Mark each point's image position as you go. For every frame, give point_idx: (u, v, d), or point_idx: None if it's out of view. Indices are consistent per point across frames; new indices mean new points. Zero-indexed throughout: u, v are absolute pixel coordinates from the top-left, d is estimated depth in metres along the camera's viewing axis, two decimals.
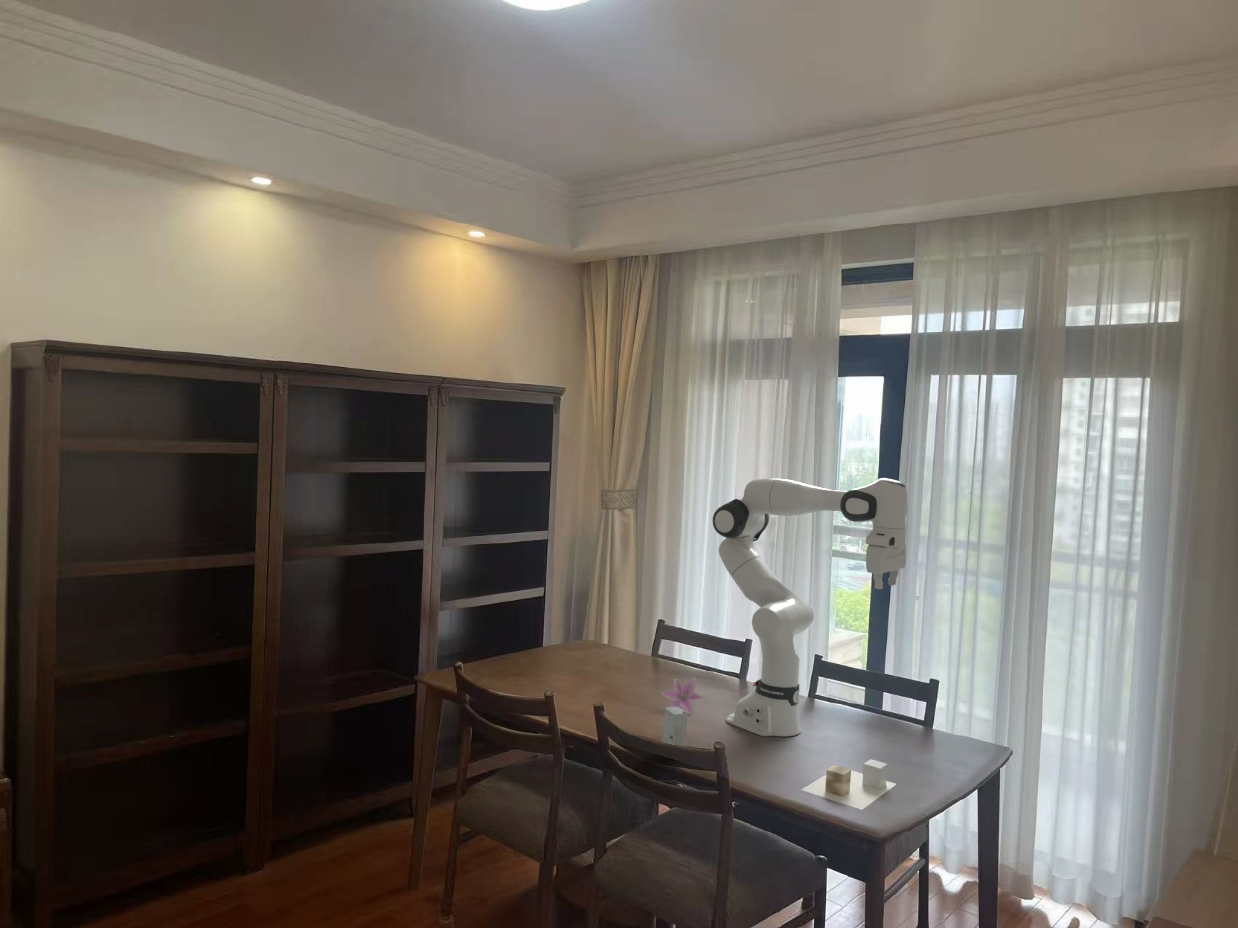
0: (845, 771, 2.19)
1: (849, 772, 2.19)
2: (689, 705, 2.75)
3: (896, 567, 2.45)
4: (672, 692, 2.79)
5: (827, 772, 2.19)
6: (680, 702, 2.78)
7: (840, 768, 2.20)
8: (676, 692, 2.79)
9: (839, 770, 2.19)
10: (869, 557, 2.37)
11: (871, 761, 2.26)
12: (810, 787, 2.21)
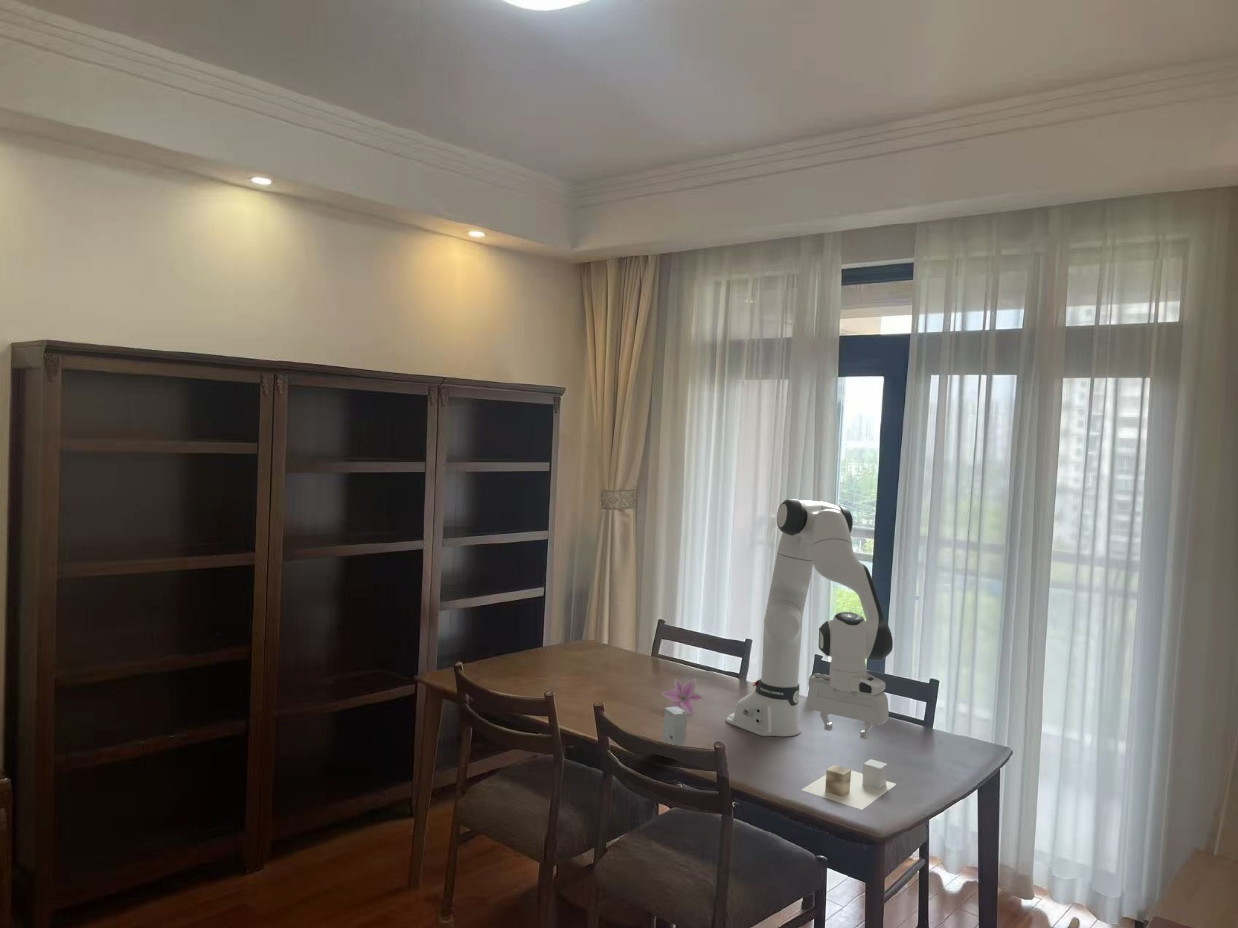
0: (845, 771, 2.19)
1: (849, 772, 2.19)
2: (690, 706, 2.75)
3: None
4: (672, 693, 2.78)
5: (827, 772, 2.19)
6: (681, 702, 2.77)
7: (840, 768, 2.20)
8: (676, 692, 2.79)
9: (839, 770, 2.19)
10: (883, 708, 2.12)
11: (871, 761, 2.26)
12: (810, 787, 2.21)
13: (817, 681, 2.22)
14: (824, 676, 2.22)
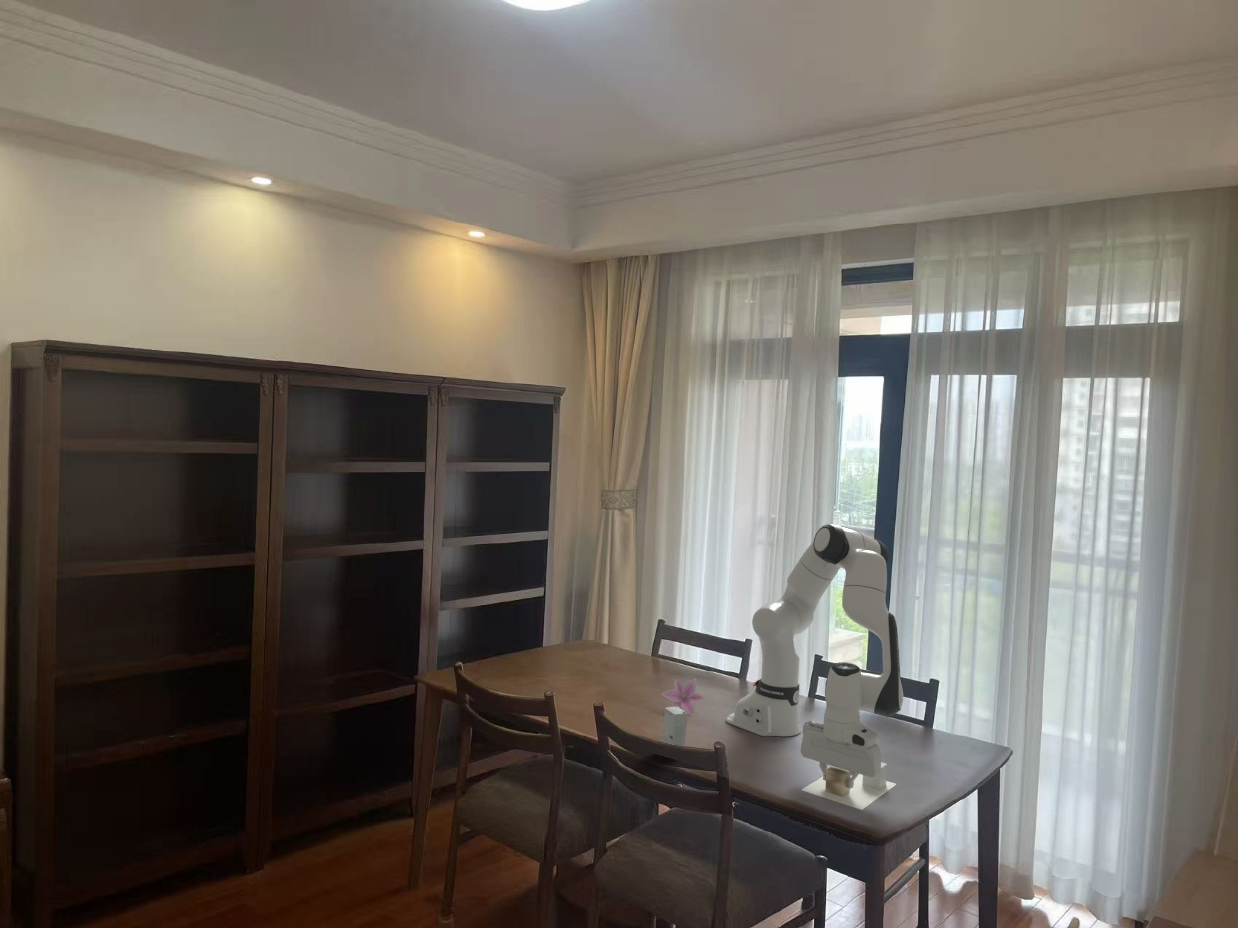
0: (845, 771, 2.19)
1: (849, 772, 2.19)
2: (690, 706, 2.75)
3: None
4: (673, 693, 2.78)
5: (827, 772, 2.19)
6: (681, 703, 2.77)
7: (840, 768, 2.20)
8: (677, 692, 2.78)
9: (839, 770, 2.19)
10: (876, 760, 2.12)
11: None
12: (810, 787, 2.21)
13: (811, 729, 2.23)
14: (818, 724, 2.22)
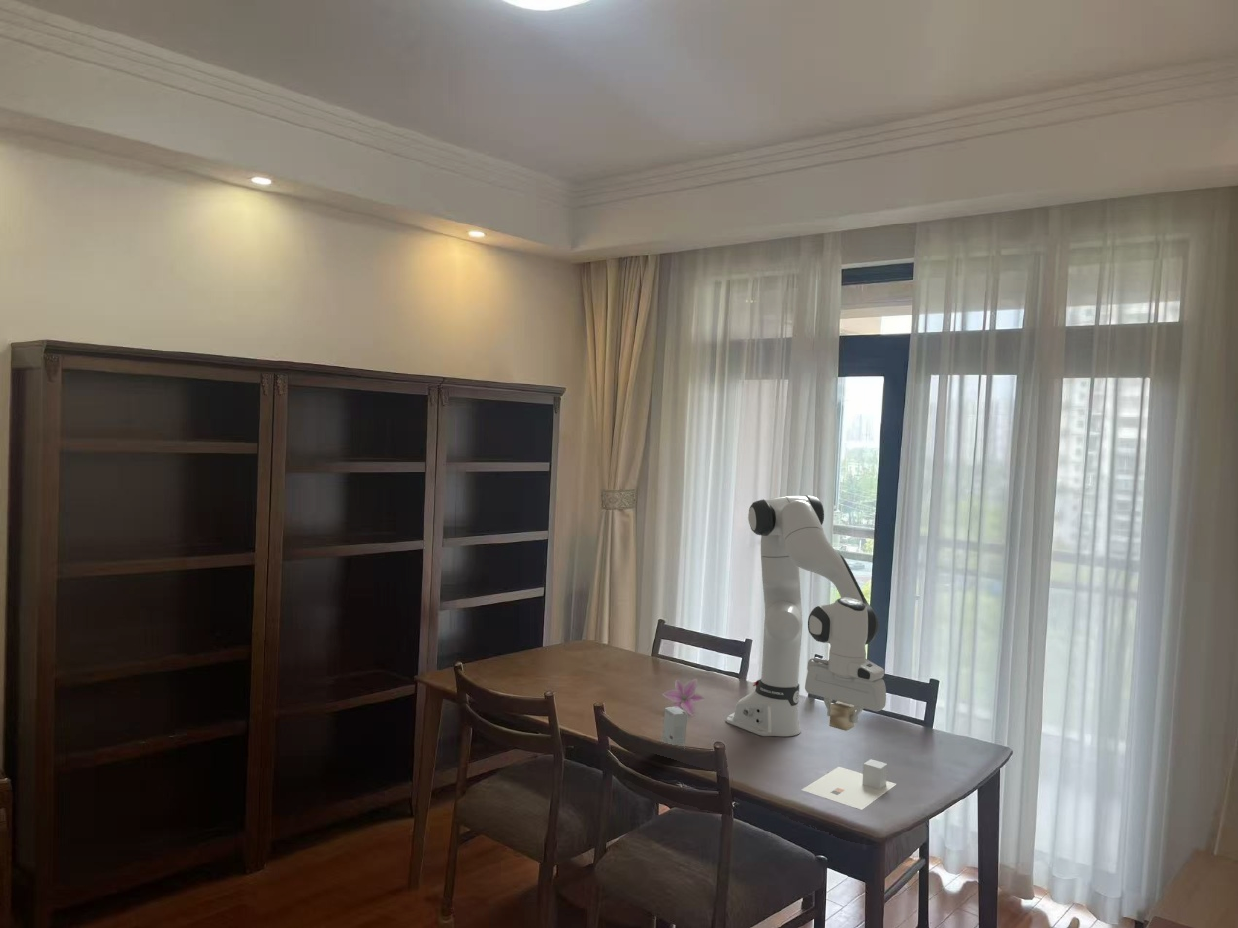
0: (849, 706, 2.18)
1: (853, 707, 2.19)
2: (690, 706, 2.75)
3: None
4: (673, 693, 2.78)
5: (831, 707, 2.18)
6: (681, 703, 2.77)
7: (844, 703, 2.20)
8: (677, 693, 2.78)
9: (844, 705, 2.18)
10: (881, 694, 2.12)
11: (871, 761, 2.26)
12: (810, 787, 2.21)
13: (816, 665, 2.22)
14: (823, 660, 2.22)
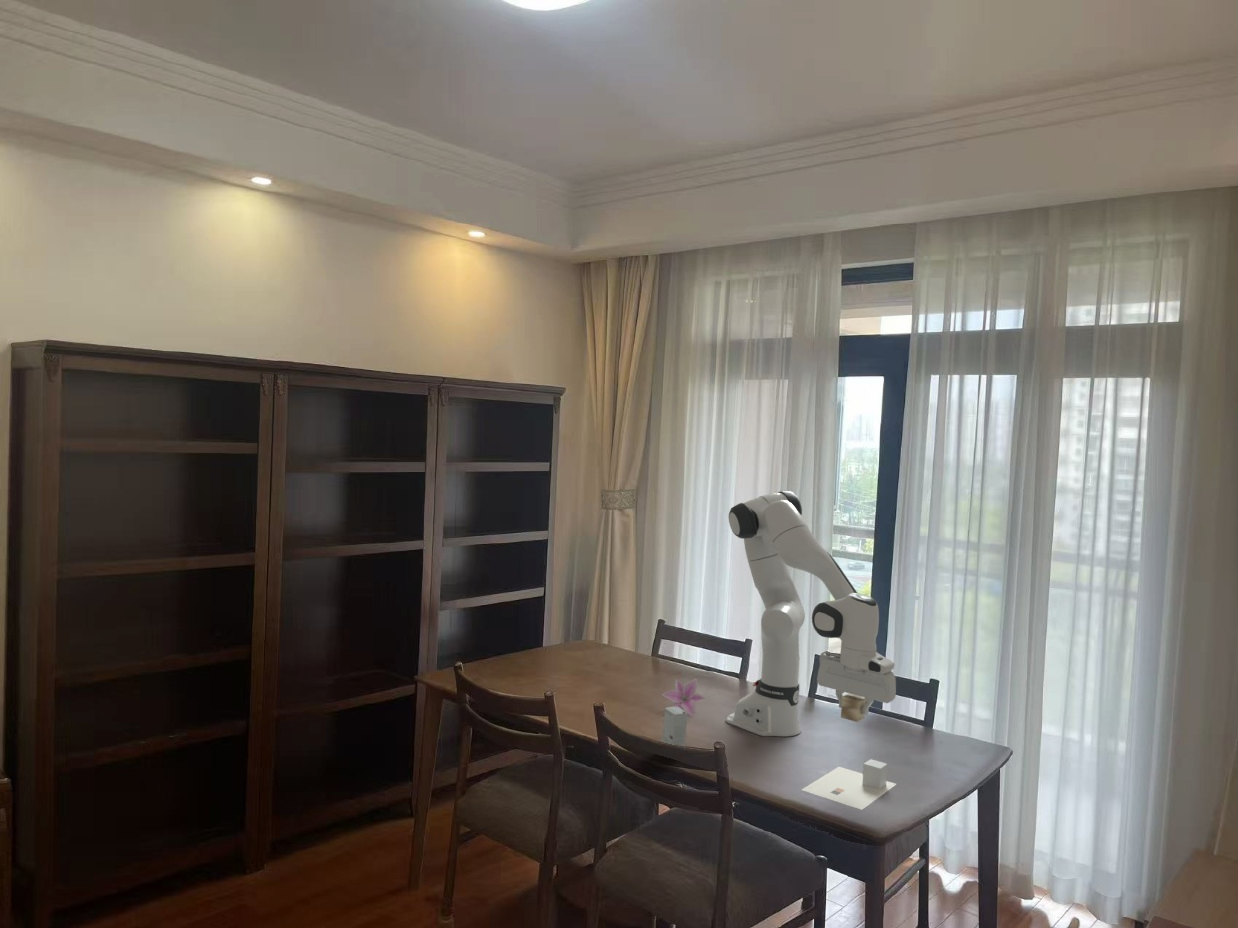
0: (860, 698, 2.25)
1: (864, 699, 2.26)
2: (691, 706, 2.75)
3: None
4: (673, 693, 2.78)
5: (843, 699, 2.26)
6: (682, 703, 2.76)
7: (855, 696, 2.27)
8: (677, 693, 2.78)
9: (855, 697, 2.26)
10: (891, 687, 2.19)
11: (871, 761, 2.26)
12: (810, 787, 2.21)
13: (828, 658, 2.30)
14: (835, 654, 2.29)
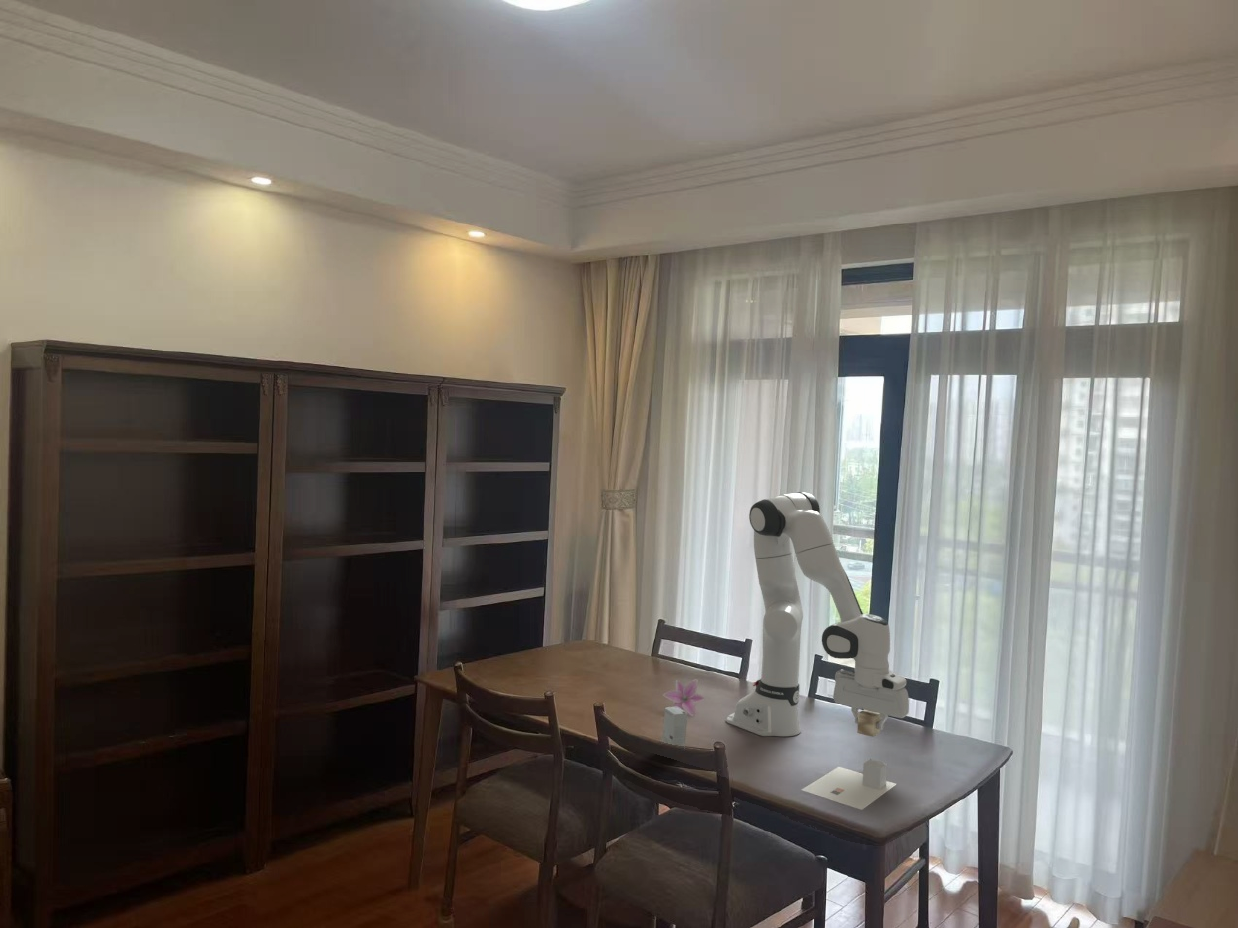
0: (875, 713, 2.36)
1: (879, 715, 2.37)
2: (691, 707, 2.74)
3: None
4: (674, 694, 2.77)
5: (859, 715, 2.37)
6: (682, 703, 2.76)
7: (871, 711, 2.38)
8: (678, 693, 2.78)
9: (870, 713, 2.37)
10: (904, 702, 2.30)
11: (871, 761, 2.26)
12: (810, 787, 2.21)
13: (843, 677, 2.41)
14: (849, 672, 2.40)
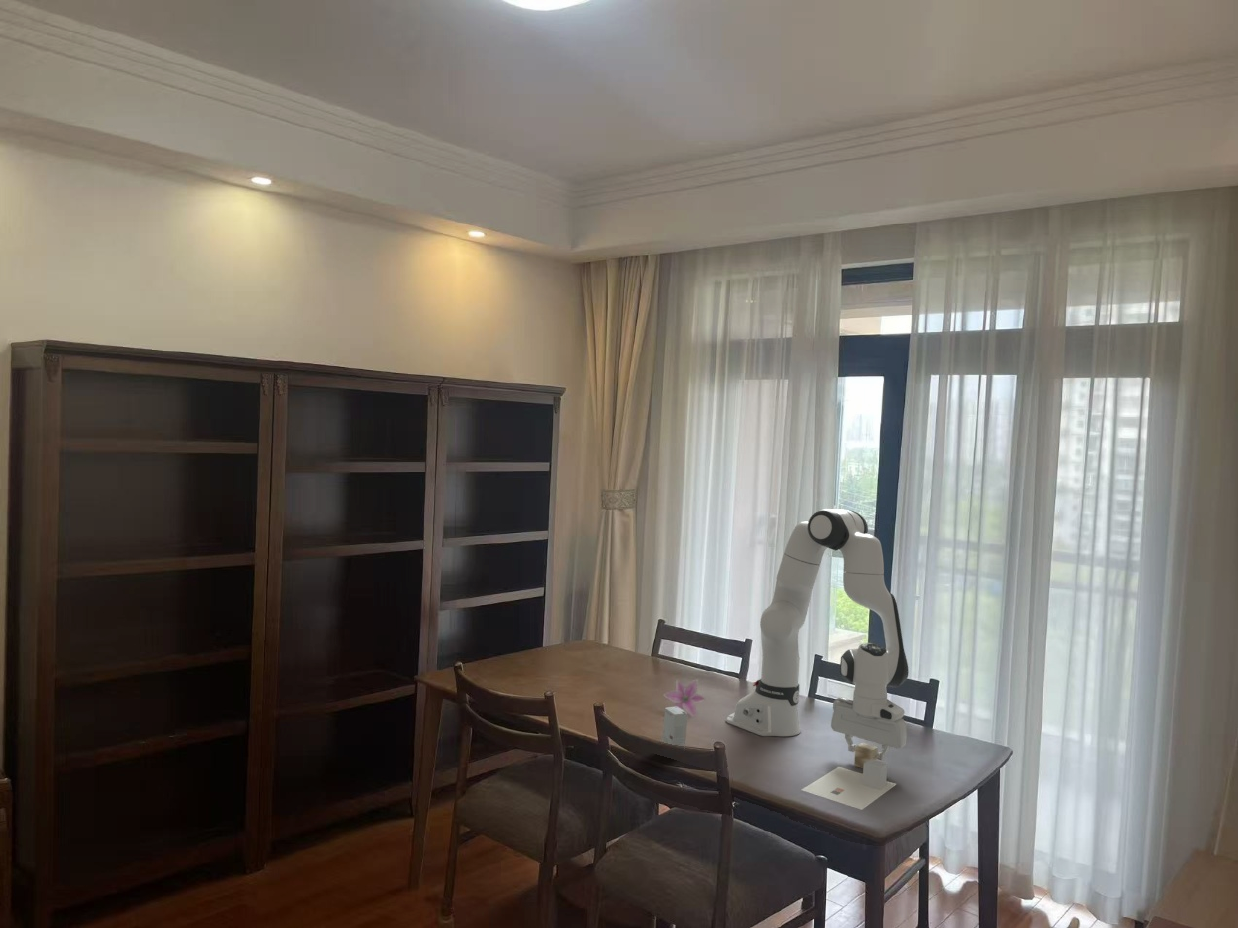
0: (872, 748, 2.37)
1: (876, 749, 2.38)
2: (692, 707, 2.74)
3: None
4: (674, 694, 2.77)
5: (856, 749, 2.37)
6: (683, 704, 2.76)
7: (868, 745, 2.39)
8: (678, 693, 2.77)
9: (867, 747, 2.37)
10: (902, 733, 2.31)
11: (871, 761, 2.26)
12: (810, 787, 2.21)
13: (841, 705, 2.41)
14: (848, 701, 2.41)
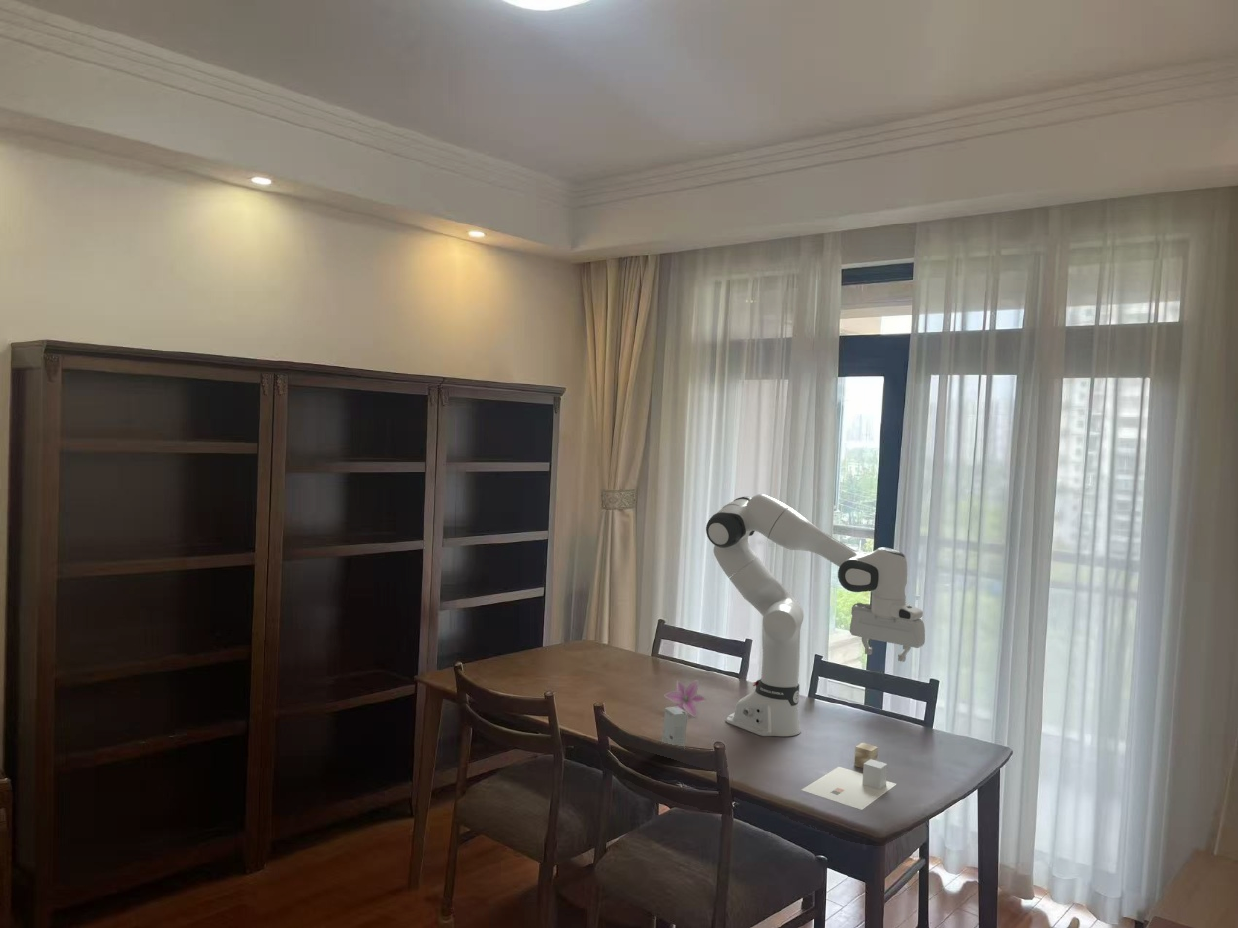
0: (872, 748, 2.37)
1: (876, 749, 2.38)
2: (692, 707, 2.74)
3: None
4: (675, 694, 2.77)
5: (856, 749, 2.37)
6: (683, 704, 2.76)
7: (868, 745, 2.39)
8: (679, 694, 2.77)
9: (867, 747, 2.37)
10: (920, 632, 2.34)
11: (871, 761, 2.26)
12: (810, 787, 2.21)
13: (859, 609, 2.44)
14: (866, 605, 2.44)
